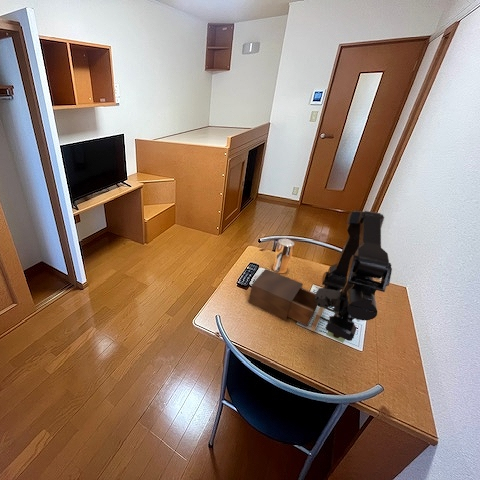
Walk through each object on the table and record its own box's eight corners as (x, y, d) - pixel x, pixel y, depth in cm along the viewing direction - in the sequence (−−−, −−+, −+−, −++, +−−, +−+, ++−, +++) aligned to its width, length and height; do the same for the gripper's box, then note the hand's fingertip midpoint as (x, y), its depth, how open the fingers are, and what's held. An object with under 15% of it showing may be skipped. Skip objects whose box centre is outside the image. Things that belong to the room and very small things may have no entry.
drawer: (337, 319, 95) (344, 303, 91) (329, 339, 87) (336, 323, 83) (286, 296, 105) (290, 281, 101) (275, 312, 98) (279, 297, 94)
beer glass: (289, 274, 118) (296, 247, 111) (272, 273, 120) (279, 245, 112) (285, 265, 124) (293, 238, 116) (270, 264, 125) (276, 237, 118)
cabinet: (297, 302, 104) (303, 283, 99) (285, 320, 96) (291, 301, 91) (261, 286, 112) (265, 268, 107) (248, 302, 104) (251, 284, 100)
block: (329, 325, 82) (334, 315, 79) (346, 333, 79) (351, 323, 77) (326, 334, 79) (330, 324, 77) (343, 343, 76) (348, 333, 74)
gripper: (331, 266, 81) (317, 302, 89) (313, 299, 69) (299, 337, 78) (374, 281, 74) (355, 318, 83) (362, 320, 63) (342, 359, 71)
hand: (337, 331), depth 79 cm, fingers closed on block, 4 cm apart
